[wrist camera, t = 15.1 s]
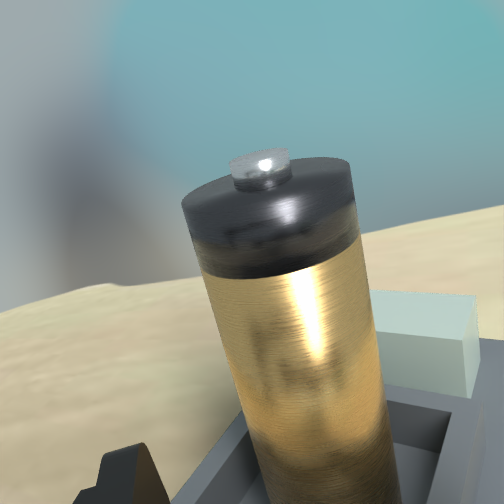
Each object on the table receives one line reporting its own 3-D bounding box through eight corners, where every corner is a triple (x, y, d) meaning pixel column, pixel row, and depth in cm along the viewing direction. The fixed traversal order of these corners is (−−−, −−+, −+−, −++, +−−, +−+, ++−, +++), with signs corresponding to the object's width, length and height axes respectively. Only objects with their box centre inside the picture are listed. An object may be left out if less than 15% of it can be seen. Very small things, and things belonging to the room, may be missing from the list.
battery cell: (379, 595, 16) (295, 175, 11) (253, 539, 19) (137, 189, 13) (418, 476, 20) (370, 125, 14) (308, 445, 23) (235, 144, 17)
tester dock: (477, 756, 13) (464, 645, 11) (160, 577, 19) (119, 491, 18) (526, 357, 26) (524, 278, 24) (328, 334, 33) (315, 271, 31)
